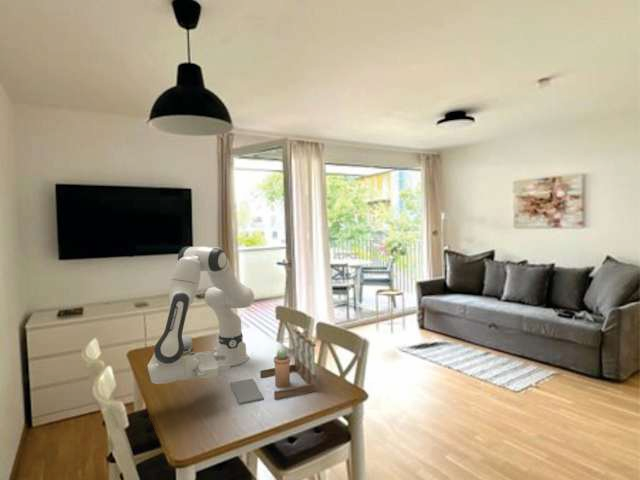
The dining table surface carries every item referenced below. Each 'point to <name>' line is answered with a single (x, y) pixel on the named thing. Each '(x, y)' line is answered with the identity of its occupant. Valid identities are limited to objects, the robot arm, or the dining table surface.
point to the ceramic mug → (187, 344)
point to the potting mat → (246, 391)
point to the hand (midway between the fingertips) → (227, 361)
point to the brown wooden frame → (299, 367)
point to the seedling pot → (282, 369)
